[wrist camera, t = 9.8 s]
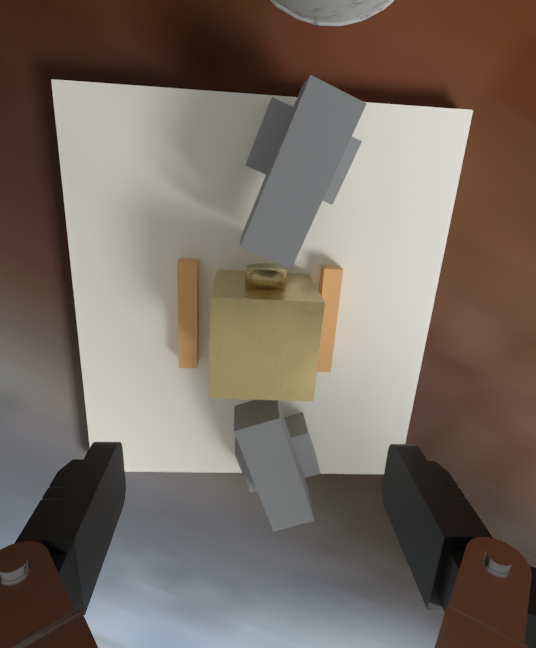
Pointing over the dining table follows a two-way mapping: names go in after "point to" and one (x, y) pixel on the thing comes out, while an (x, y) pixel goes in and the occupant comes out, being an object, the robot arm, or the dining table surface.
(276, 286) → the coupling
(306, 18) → the gray cylinder
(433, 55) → the dining table surface
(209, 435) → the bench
